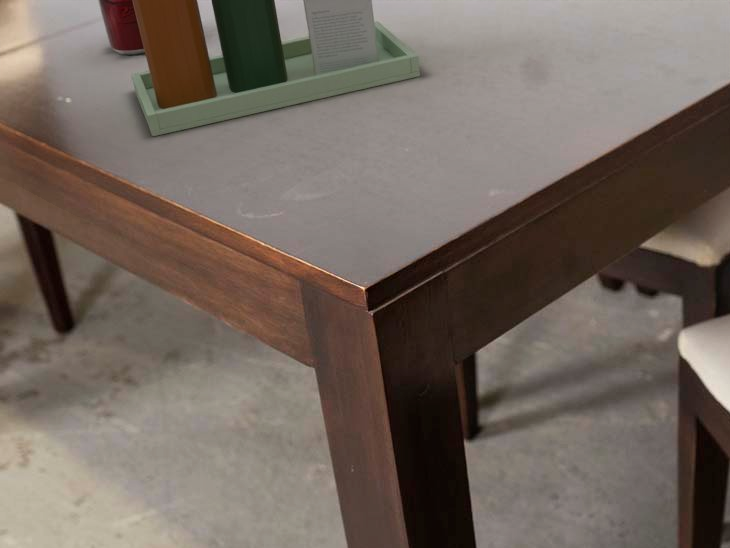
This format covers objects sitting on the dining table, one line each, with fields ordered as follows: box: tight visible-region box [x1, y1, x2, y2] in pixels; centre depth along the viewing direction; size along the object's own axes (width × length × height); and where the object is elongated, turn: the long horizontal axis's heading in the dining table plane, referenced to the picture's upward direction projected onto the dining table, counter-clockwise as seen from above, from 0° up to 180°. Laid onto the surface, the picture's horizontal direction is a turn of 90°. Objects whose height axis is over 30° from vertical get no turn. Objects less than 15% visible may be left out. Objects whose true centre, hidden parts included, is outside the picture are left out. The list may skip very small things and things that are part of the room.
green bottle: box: [211, 0, 288, 93], centre depth 102 cm, size 6×6×15 cm
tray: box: [130, 21, 421, 137], centre depth 106 cm, size 26×13×2 cm, turn 108°
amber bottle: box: [132, 0, 217, 109], centre depth 101 cm, size 6×6×15 cm
